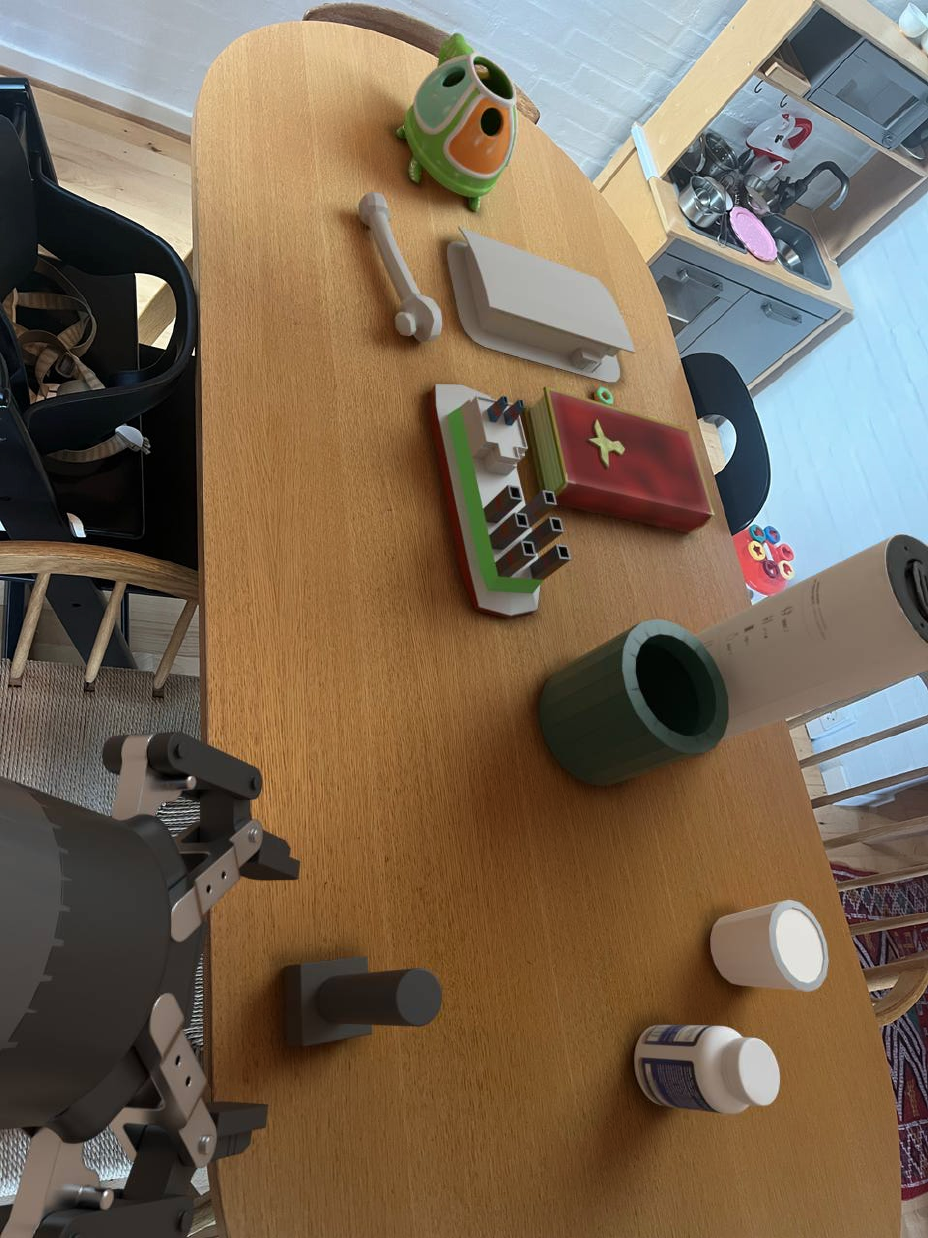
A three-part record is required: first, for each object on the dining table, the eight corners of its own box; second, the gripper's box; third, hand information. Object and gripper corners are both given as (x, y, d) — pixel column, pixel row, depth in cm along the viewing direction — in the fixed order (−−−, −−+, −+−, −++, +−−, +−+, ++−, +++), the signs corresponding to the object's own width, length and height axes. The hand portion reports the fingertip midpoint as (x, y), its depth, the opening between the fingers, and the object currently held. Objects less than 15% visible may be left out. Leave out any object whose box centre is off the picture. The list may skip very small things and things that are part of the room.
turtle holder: (466, 122, 100) (517, 32, 90) (494, 226, 93) (552, 140, 84) (380, 84, 93) (425, -18, 84) (403, 193, 87) (455, 95, 78)
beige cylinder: (715, 769, 75) (990, 681, 55) (635, 720, 72) (893, 609, 52) (724, 680, 81) (974, 572, 61) (650, 632, 78) (886, 501, 58)
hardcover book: (690, 535, 88) (717, 517, 85) (542, 505, 78) (567, 483, 75) (666, 448, 93) (691, 428, 90) (523, 408, 82) (546, 384, 79)
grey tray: (624, 387, 94) (646, 366, 91) (464, 341, 82) (483, 315, 79) (596, 290, 99) (616, 268, 96) (442, 234, 87) (459, 206, 84)
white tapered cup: (759, 1005, 66) (829, 1005, 61) (700, 976, 64) (768, 973, 59) (763, 925, 70) (830, 918, 65) (708, 895, 68) (772, 886, 63)
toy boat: (469, 617, 67) (520, 577, 61) (422, 383, 76) (462, 329, 70) (540, 619, 71) (594, 583, 65) (488, 398, 80) (531, 347, 74)
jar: (649, 785, 70) (743, 754, 62) (550, 786, 64) (639, 752, 56) (624, 669, 74) (709, 626, 66) (530, 661, 69) (609, 611, 60)
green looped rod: (658, 445, 93) (664, 441, 92) (591, 401, 89) (597, 396, 88) (659, 431, 94) (665, 426, 93) (593, 387, 90) (599, 382, 89)
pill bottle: (680, 1116, 58) (785, 1132, 51) (626, 1091, 57) (726, 1103, 49) (689, 1039, 61) (790, 1043, 54) (638, 1013, 60) (734, 1014, 52)
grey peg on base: (353, 1033, 49) (463, 1039, 38) (286, 1045, 47) (382, 1055, 36) (349, 958, 51) (453, 943, 40) (284, 966, 48) (375, 953, 38)
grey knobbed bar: (435, 354, 79) (454, 329, 76) (391, 347, 76) (408, 320, 73) (394, 219, 84) (409, 191, 81) (350, 208, 81) (365, 178, 78)
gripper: (-87, 1426, 12) (331, 1220, 26) (127, 626, 19) (369, 800, 33) (-413, 1360, 14) (139, 1200, 28) (-113, 652, 21) (212, 806, 34)
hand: (263, 984), depth 30 cm, fingers open, 8 cm apart
